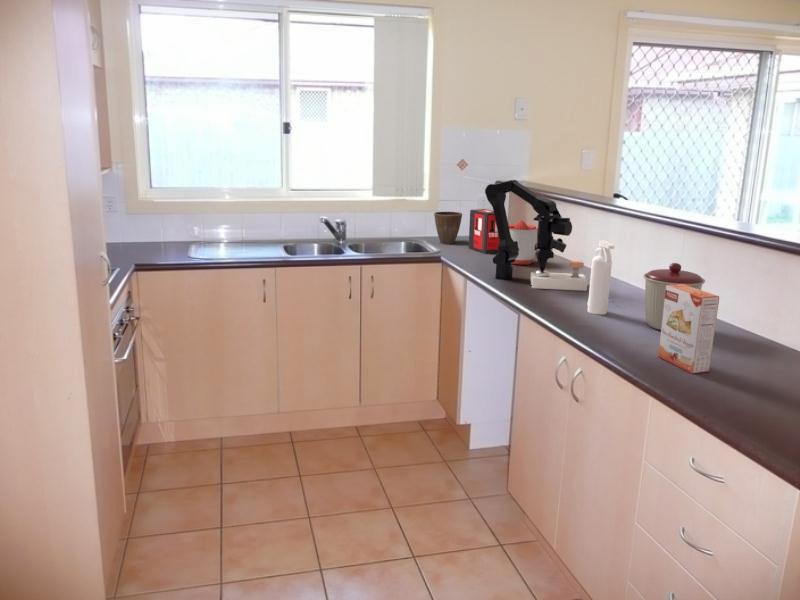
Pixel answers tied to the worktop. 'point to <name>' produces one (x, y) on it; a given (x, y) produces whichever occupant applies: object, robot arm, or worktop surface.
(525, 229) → the citrus juicer
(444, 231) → the plant pot
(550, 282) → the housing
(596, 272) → the white spray bottle
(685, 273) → the canister
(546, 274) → the plug
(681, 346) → the cracker box
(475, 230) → the cleaning product box
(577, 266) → the terracotta plug
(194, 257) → the worktop surface
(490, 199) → the robot arm
